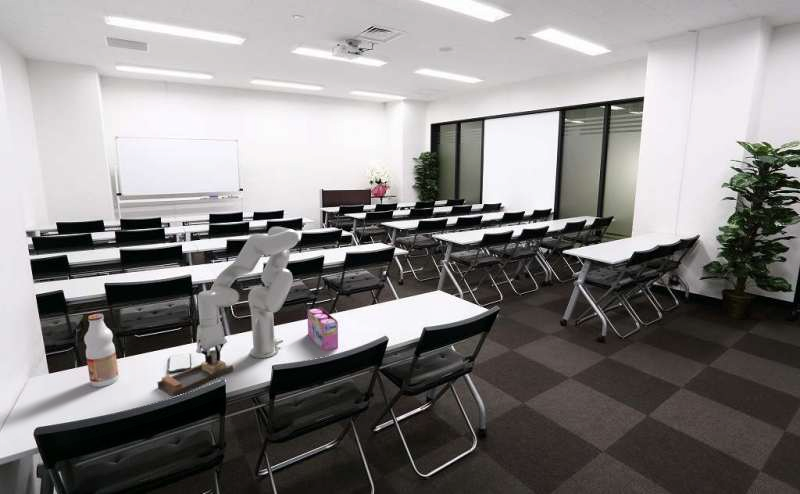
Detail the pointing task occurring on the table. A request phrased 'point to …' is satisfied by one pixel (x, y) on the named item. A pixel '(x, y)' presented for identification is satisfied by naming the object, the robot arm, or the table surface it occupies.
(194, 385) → the slide track
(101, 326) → the fruit juice
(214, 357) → the oak slider
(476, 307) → the table surface
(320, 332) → the pink multipack carton
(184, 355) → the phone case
